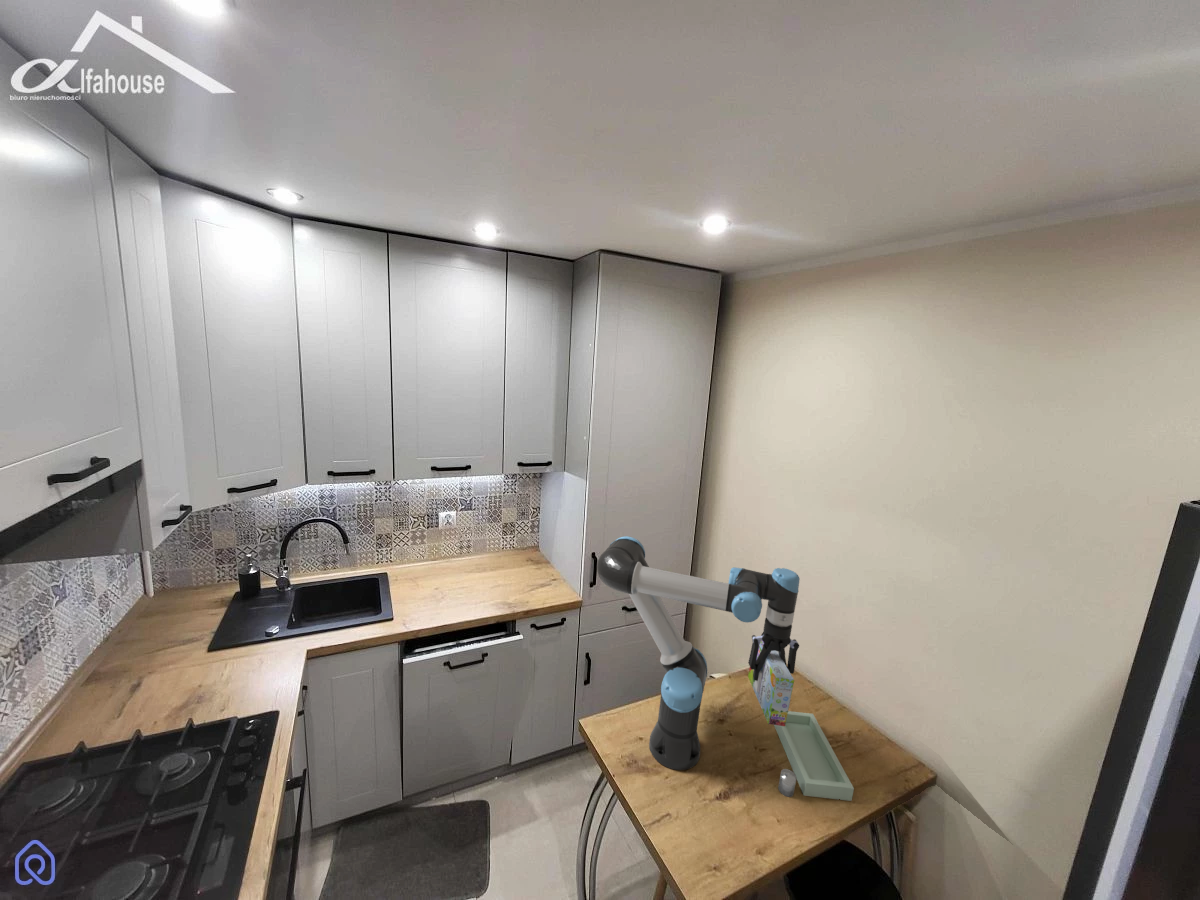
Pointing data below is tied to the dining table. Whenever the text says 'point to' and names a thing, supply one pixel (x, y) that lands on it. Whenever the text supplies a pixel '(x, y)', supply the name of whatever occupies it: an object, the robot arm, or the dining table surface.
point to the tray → (813, 758)
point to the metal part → (787, 782)
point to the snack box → (773, 688)
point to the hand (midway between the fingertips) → (767, 690)
